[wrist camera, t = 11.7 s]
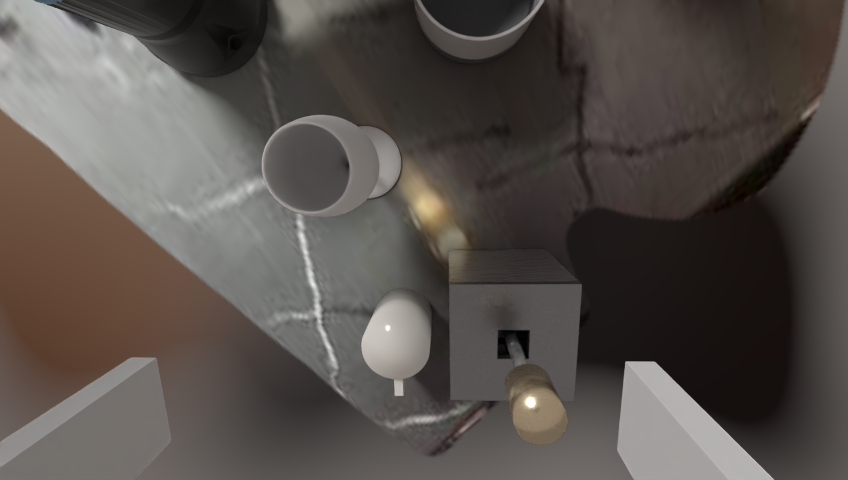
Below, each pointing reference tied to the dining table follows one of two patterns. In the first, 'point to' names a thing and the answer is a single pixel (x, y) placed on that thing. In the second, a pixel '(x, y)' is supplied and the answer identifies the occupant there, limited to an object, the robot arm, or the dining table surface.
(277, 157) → the wineglass
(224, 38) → the robot arm
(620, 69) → the dining table surface
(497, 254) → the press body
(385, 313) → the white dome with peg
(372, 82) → the dining table surface
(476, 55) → the planter
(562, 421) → the plunger
